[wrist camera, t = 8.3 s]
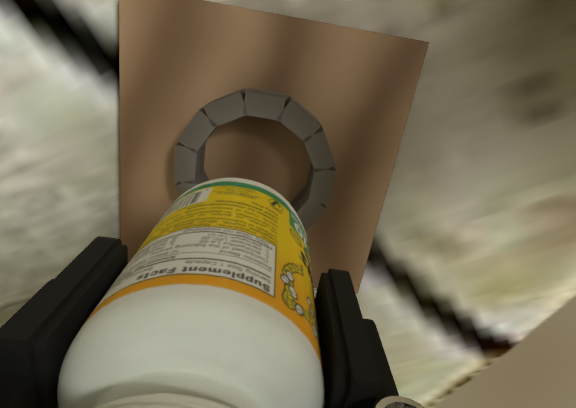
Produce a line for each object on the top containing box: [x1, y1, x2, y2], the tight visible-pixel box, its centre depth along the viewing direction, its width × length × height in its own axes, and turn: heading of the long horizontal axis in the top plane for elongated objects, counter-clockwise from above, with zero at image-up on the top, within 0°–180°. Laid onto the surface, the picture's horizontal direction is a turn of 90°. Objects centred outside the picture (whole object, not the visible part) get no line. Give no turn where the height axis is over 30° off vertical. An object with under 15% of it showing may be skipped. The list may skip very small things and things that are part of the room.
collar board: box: [119, 0, 429, 293], centre depth 23 cm, size 17×17×4 cm
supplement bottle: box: [57, 178, 325, 408], centre depth 9 cm, size 5×5×10 cm
